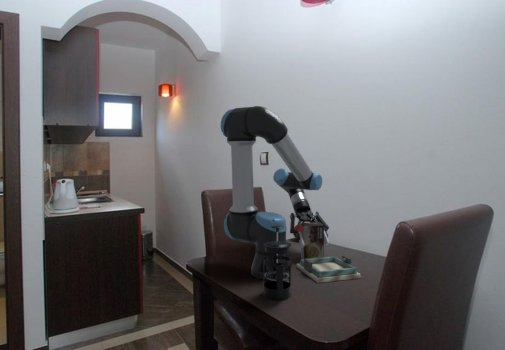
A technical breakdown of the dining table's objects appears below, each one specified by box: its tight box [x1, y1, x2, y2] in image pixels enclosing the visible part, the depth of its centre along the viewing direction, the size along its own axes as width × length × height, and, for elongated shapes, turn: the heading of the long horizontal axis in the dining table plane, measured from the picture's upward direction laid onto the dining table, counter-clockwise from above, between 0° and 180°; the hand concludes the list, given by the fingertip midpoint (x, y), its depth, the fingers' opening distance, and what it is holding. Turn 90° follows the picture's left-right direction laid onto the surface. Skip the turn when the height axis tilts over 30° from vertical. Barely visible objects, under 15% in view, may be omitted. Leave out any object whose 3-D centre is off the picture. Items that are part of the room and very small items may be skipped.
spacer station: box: [296, 254, 362, 284], centre depth 138 cm, size 18×18×6 cm
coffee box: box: [300, 222, 325, 260], centre depth 154 cm, size 9×6×16 cm
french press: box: [262, 225, 292, 301], centre depth 115 cm, size 12×9×23 cm
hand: (315, 245), depth 151 cm, fingers open, 11 cm apart
